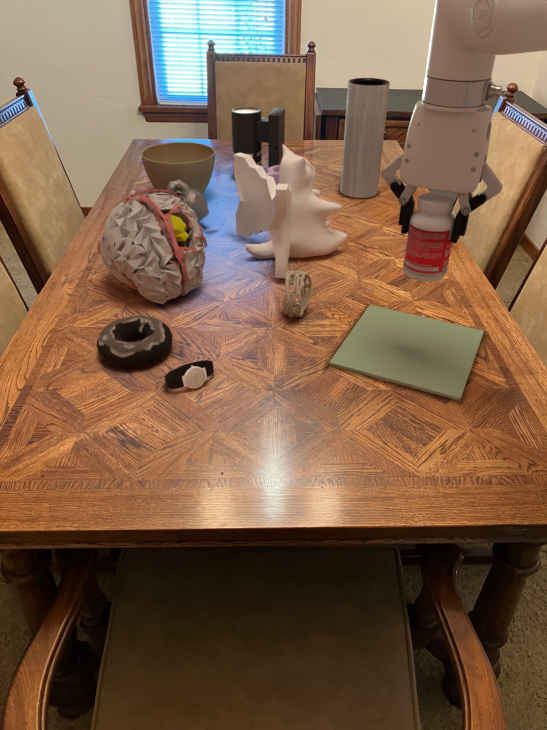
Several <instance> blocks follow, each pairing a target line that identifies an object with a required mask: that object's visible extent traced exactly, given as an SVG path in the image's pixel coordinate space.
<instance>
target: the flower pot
mask: <svg viewBox="0 0 547 730" xmlns="http://www.w3.org/2000/svg"><path fill="white" fill-rule="evenodd" d="M140 156H141V160H142V165H143V168H144V171H145V173H146V175H147V178H148V180H149V181H150V183H151V185H152V187H153V189H158V190H167V186H168V184H169V183H170V182H171V181H176V180H181V181H182V182H184V183H185V184H187V185H188V186H189V187H190V189H196V190H197V191H199V192H200V193H201V194H202V195H203V194H204V193H205V191H206V189H207V188H208V186H209V185H210V182H211V179H212V177H213V172H214V168H215V162H216V161H215V160H216V151H215V149H214V148H213V147H212V146H210V145H207V144H204V143H199V142H193V141H192V142H191V141H172V142H164V143H158V144H154V145H150V146H147V147H146V148H144V149H143V150H142V151H141V153H140ZM156 193H166V192H162V191H156ZM167 194H171V193H167ZM171 195H173V194H171ZM173 196H174V195H173Z"/></svg>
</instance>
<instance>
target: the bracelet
mask: <svg viewBox="0 0 547 730" xmlns="http://www.w3.org/2000/svg"><path fill="white" fill-rule="evenodd" d="M284 279H285V280H284V281H285V283H284V285H285V286H284V287H285V291H284V293H283V298H282V301H281V305H282V309H283V311H284V312H283V313H284V316H288V317H291V318H293V317H295V318H297V317H299V318H302V317H303V315H304V311H305V310H306V309H307V308H308V305H309V304H308V303H309V301H310V296H311V293H312V288H313V287H312V286H313V285H312V279H311V275H310V274H309V273H308V272H306V271H301V270H298V269H296V270H294V269H291V270H287V272H286V273H285V278H284ZM307 281H308V282H307ZM292 285H293V286H292ZM290 286H292V290H291V292H290ZM307 289H308V290H307ZM296 299H298V301H296V302H295V300H296ZM286 301H287V304H286Z"/></svg>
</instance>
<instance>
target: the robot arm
mask: <svg viewBox="0 0 547 730" xmlns="http://www.w3.org/2000/svg"><path fill="white" fill-rule="evenodd" d="M433 9H434V10H433V17H432V23H431V24H432V25H431V31H430V38H429V45H428V53H427V60H426V67H425V73H424V81H423V87H422V94H421V95H422V96H421V99H420V100H418V101H416V103H415V106H414V108H413V111H412V114H411V118H410V121H409V125H408V129H407V133H406V137H405V142H404V145H403V150H402V154H401V155H399V156H398V157H397V158H396V159H395V160H393V161H392V162H390V163H389V164H388V165H387V166H386V167H384V168H383V169H382V170H380V176H381V177H382V179H383V180H384V181H385V183H386V184H387V185H388V187H389V189H390V190H391V192H392V193H393V195H394V197H396V199H397V200H398V201H397V202H398V204H399V205H400V209H399V215H398V216H399V217H398V226H401V228H400V234H401V235H406V234H407V235H408V228H409V221H410V217H411V215H412V214H413V213H414V212H415V206H416V201H415V199H414V194H415V193H416V191H417V189H418V188H421V189H427V190H434V191H442V192H447V193H455V194H456V196H457V201H458V206H459V209H458V211H457V213H456V215H455V223H454V228H453V233H452V238H451V242H452V244H457V243H458V242H459V239H460V237H465V235H466V232H467V229H468V223H469V218H470V214H471V213H472V212H473V211H475V210H476V209H478V208H480V207H481V206H483V205H484V204H485V203H486V202H487V201H490V200H491V199H492V198H494V197H496V196H497V195H498V194H500V193H501V192H502V191H503V186H504V185H503V183H502V182H501V181H500V179H499V178H498V177H497V175H496V174H495V172H494V171H493V170H492V168H491V167H490V165H489V164H488V162H487V159H488V154H489V147H490V142H491V141H490V140H491V134H492V133H491V132H492V122H493V121H492V120H493V108H492V106H491V105H488V104H487V103H488V102H489V101H490V100H493V99H498V100H499V99H500V98H501V95H502V90H503V85H497V84H495V83H494V81H492V79H493V78H492V76H493V70H494V65H495V60H496V56H506V55H517V54H526V53H535V52H537V53H538V52H547V0H435V2H434V8H433ZM398 170H399V177H398V175H397V171H398ZM482 181H483V183H485V185H486V188H485V189H484V190H482V191H479V193H477V194H475V195H474V196H473V193H474V192H475V191H477V188H478V186H479V184H481V183H482ZM405 185H406V186H405Z"/></svg>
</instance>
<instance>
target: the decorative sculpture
mask: <svg viewBox="0 0 547 730" xmlns="http://www.w3.org/2000/svg"><path fill="white" fill-rule="evenodd" d="M157 191H162V192H166V193H158V192H157ZM145 192H152V193H145ZM167 193H172V194H174V195H176V196H178V197H179V198H178V197H176V196H173V195H171V194H167ZM140 194H142V195H140ZM180 198H181V199H183V198H182V197H180V196H179V195H177V194H176V193H174V192H173V191H167V190H158V189H155V188H146V189H143V190H140V191H138V192H135V193H133V194H130V195H129V196H128V197H125V200H123V201H122V202H120V203H118V205H116V206H115V207H114V208H113V209H112V210H111V211H110V213H109V215H108V218H107V220H106V222H105V224H104V229H103V232H102V234H101V236H100V239H99V241H98V242H97V253H98V254H99V255H100V257H101V260H102V262H103V264H104V266H105V267H106V269H107V270H108V271H109V272H110V273H111V274H112V275H113V276H114V277H115V278H116V279H117V280H119V281H120V282H122V283H123V284H125V285H126V286H128V287H130V288H131V290H135V291H138V293H139V295H140V296H142V297H144V298H145V299H146V300H148V301H150V302H152V303H156V304H161V305H164V304H165V303H167V301H171V300H172V299H177V298H178V297H179V296H181V297H184V296H186V295H187V294H189V292H191V291H192V290H194V289H197V288H198V287H200V286H201V284H202V281H203V279H204V275H203V274H204V272H203V270H204V266H205V264H206V252H205V251H206V250H205V248H207V247H208V243H207V238H206V236H205V235H204V229H203V227H202V226H201V224H200V223H199V222H198V217H197V216H196V213H195V212H194V211H193V210H192V209H191V208H190V207H189V206H188V205H187V204H186V203H184V202H183V201H182V200H181V199H180ZM183 200H185V199H183ZM185 201H186V200H185ZM187 202H188V201H187ZM189 203H190V202H189ZM131 290H128V293H130V294H132V291H131Z"/></svg>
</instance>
